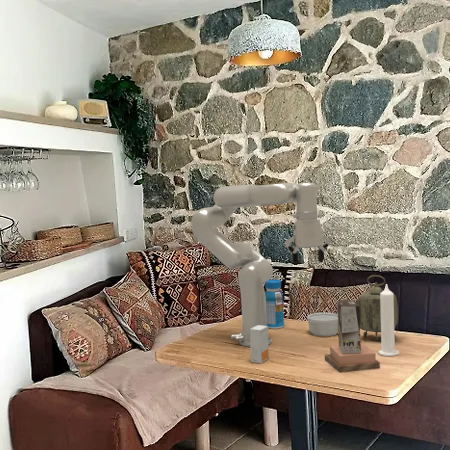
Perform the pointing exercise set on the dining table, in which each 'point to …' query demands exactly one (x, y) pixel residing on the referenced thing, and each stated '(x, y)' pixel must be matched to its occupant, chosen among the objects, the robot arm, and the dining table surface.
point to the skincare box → (259, 344)
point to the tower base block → (351, 365)
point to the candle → (387, 323)
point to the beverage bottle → (274, 304)
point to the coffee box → (349, 327)
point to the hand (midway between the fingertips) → (308, 262)
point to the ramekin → (323, 324)
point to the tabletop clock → (373, 309)
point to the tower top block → (353, 355)
